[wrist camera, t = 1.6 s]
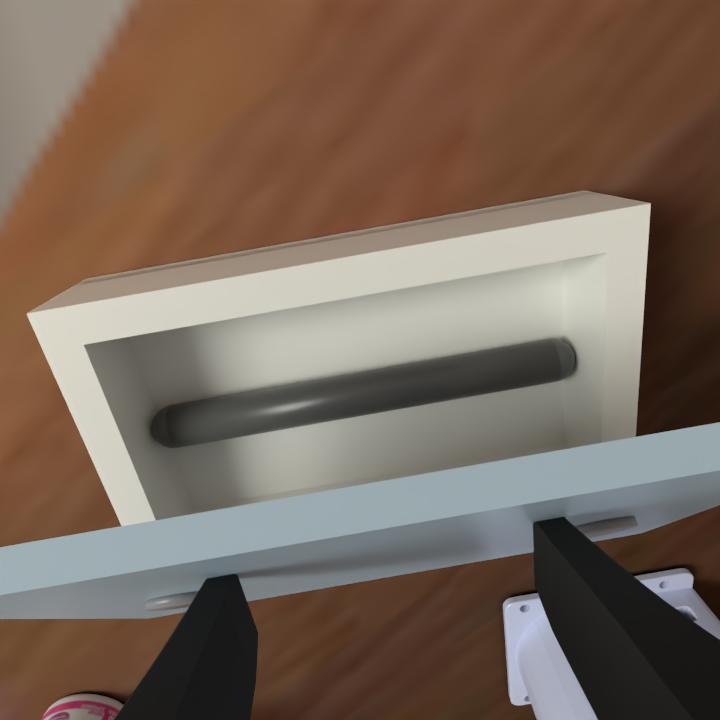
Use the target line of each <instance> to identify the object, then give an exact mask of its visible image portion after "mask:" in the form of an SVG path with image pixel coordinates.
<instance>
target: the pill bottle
mask: <svg viewBox="0 0 720 720" xmlns="http://www.w3.org/2000/svg"><path fill="white" fill-rule="evenodd" d="M123 706H124V705H123V704H122V703H120V702H119V701H117V700H115V699H112V698H109V697H106V696H102V695H96V694H74V695H70V696H67V697H64V698H62V699H60V700H58V701H56V702H55V703H54V704H52V705H51V706H50V707H49V709H48V710H47V711H46V713H45V715H44V716H43V718H42V720H114V718H115V717H116V715H117V714H118V713H119V711H120V710H121V709H122V707H123Z"/></svg>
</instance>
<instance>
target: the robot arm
mask: <svg viewBox="0 0 720 720" xmlns="http://www.w3.org/2000/svg"><path fill="white" fill-rule="evenodd" d="M533 543H534V573H535V587H536V590H537V592H538V593H534V594H528V595H522V596H516V597H511V598H508V599H507V600H506V601H505V602H504V603H503V616H504V631H505V645H506V660H507V674H508V688H509V697H510V700H511V703H512V704H514V705H525V704H531V705H532V707H533V710H534V713H535V716H536V718H537V720H720V621H719V620H718V618H717V617H716V616H715V615H714V614H713V612H712V611H711V610H710V609H709V607H708V606H707V605H706V604H705V603H704V601H703V600H702V599H701V598H700V597H699V595H698V594H697V593H696V592H695V590H694V589H693V588H692V587H693V579H694V578H693V575H692V574H691V573H690V572H689V570H688V569H685V568H679V569H673V570H667V571H661V572H656V573H650V574H644V575H638V576H633V575H631V574H630V573H629V572H628V571H626V570H625V569H624V568H623V567H621V566H620V565H619V564H618V563H617V562H615V561H614V560H613V559H612V558H611V557H609V556H608V555H607V554H606V553H605V552H604V551H602V550H601V549H600V548H599V547H598V546H597V545H595V544H594V543H593V542H592V541H591V540H590V539H589V538H587V537H586V536H585V535H584V534H583V533H582V532H581V531H579V530H578V529H577V528H576V527H575V526H574V525H573V524H572V523H571V522H569V521H568V520H567V519H566V518H565V517H559V518H554V519H548V520H542V521H536V522H534V523H533ZM257 647H258V632H257V629H256V626H255V623H254V620H253V617H252V615H251V612H250V609H249V606H248V603H247V600H246V597H245V595H244V592H243V589H242V586H241V583H240V580H239V577H238V575H237V574H231V575H225V576H219V577H213V578H207V579H206V580H205V581H204V583H203V585H202V586H201V588H200V589H199V591H198V593H197V594H196V596H195V598H194V599H193V601H192V603H191V604H190V606H189V608H188V609H187V611H186V612H185V614H184V616H183V617H182V619H181V621H180V622H179V624H178V625H177V627H176V629H175V630H174V632H173V633H172V635H171V637H170V638H169V640H168V641H167V643H166V644H165V646H164V647H163V649H162V650H161V652H160V653H159V655H158V656H157V658H156V660H155V661H154V663H153V664H152V666H151V667H150V669H149V670H148V672H147V673H146V675H145V676H144V677H143V679H142V680H141V682H140V683H139V685H138V686H137V687H136V689H135V690H134V692H133V693H132V694H131V696H130V697H129V699H128V700H127V701H126V703H125V704H124V706H123V707H122V709H121V710H120V711H119V713H118V714H117V715H116V717H115V718H114V720H250V716H251V709H252V703H253V697H254V690H255V683H256V668H257Z"/></svg>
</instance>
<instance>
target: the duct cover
mask: <svg viewBox="0 0 720 720" xmlns="http://www.w3.org/2000/svg"><path fill="white" fill-rule="evenodd" d="M719 505H720V422H719V423H713V424H707V425H701V426H696V427H690V428H684V429H678V430H673V431H667V432H661V433H655V434H650V435H644V436H638V437H632V438H627V439H621V440H615V441H609V442H604V443H598V444H592V445H586V446H581V447H575V448H569V449H563V450H558V451H552V452H546V453H540V454H535V455H529V456H523V457H517V458H512V459H506V460H500V461H494V462H489V463H483V464H477V465H471V466H466V467H460V468H454V469H448V470H443V471H437V472H431V473H425V474H420V475H414V476H408V477H402V478H397V479H391V480H385V481H379V482H374V483H368V484H362V485H356V486H351V487H345V488H339V489H333V490H328V491H322V492H316V493H310V494H305V495H299V496H293V497H287V498H282V499H276V500H270V501H264V502H259V503H253V504H247V505H241V506H236V507H230V508H224V509H218V510H213V511H207V512H201V513H195V514H190V515H184V516H178V517H172V518H167V519H161V520H155V521H149V522H144V523H138V524H132V525H126V526H121V527H115V528H109V529H103V530H98V531H92V532H86V533H81V534H75V535H69V536H63V537H58V538H52V539H46V540H40V541H35V542H29V543H23V544H17V545H12V546H6V547H0V619H97V618H154V617H160V616H166V615H172V614H177V613H183V612H186V611H187V609H188V608H189V606H190V604H191V603H192V601H193V599H194V598H195V596H196V594H197V593H198V591H199V589H200V588H201V586H202V585H203V583H204V581H205V580H206V579H207V578H213V577H219V576H225V575H231V574H237V575H238V577H239V580H240V583H241V586H242V589H243V592H244V595H245V597H246V600H247V601H253V600H258V599H264V598H270V597H276V596H281V595H287V594H293V593H299V592H305V591H310V590H316V589H322V588H328V587H334V586H339V585H345V584H351V583H357V582H362V581H368V580H374V579H380V578H386V577H391V576H397V575H403V574H409V573H415V572H420V571H426V570H432V569H438V568H443V567H449V566H455V565H461V564H467V563H472V562H478V561H484V560H490V559H496V558H501V557H507V556H513V555H519V554H524V553H530V552H534V543H533V523H534V522H536V521H542V520H548V519H554V518H559V517H565V518H566V519H567V520H568V521H569V522H571V523H572V524H573V525H574V526H575V527H576V528H577V529H578V530H579V531H581V532H582V533H583V534H584V535H585V536H586V537H587V538H589V539H590V540H591V541H592V542H594V541H600V540H605V539H611V538H617V537H623V536H629V535H634V534H640V533H644V532H646V531H649V530H652V529H655V528H657V527H660V526H663V525H666V524H669V523H671V522H674V521H677V520H680V519H682V518H685V517H688V516H691V515H694V514H696V513H699V512H702V511H705V510H707V509H710V508H713V507H716V506H719Z"/></svg>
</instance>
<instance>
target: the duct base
mask: <svg viewBox="0 0 720 720" xmlns="http://www.w3.org/2000/svg"><path fill="white" fill-rule="evenodd" d="M650 209H651V203H647V202H642V201H637V200H631V199H626V198H621V197H616V196H611V195H606V194H601V193H595V192H590V191H585V190H584V191H579V192H573V193H567V194H562V195H556V196H551V197H545V198H539V199H534V200H528V201H522V202H517V203H511V204H505V205H500V206H494V207H488V208H483V209H477V210H471V211H466V212H460V213H454V214H449V215H443V216H437V217H432V218H426V219H421V220H415V221H409V222H404V223H398V224H392V225H387V226H381V227H375V228H370V229H364V230H358V231H353V232H347V233H341V234H336V235H330V236H324V237H319V238H313V239H307V240H302V241H296V242H291V243H285V244H279V245H274V246H268V247H262V248H257V249H251V250H245V251H240V252H234V253H228V254H223V255H217V256H211V257H206V258H200V259H194V260H189V261H183V262H177V263H172V264H166V265H161V266H155V267H149V268H144V269H138V270H132V271H127V272H121V273H115V274H110V275H104V276H98V277H93V278H87V279H85V280H83V281H81V282H80V283H78V284H76V285H75V286H73V287H71V288H69V289H68V290H66V291H64V292H63V293H61V294H59V295H57V296H56V297H54V298H52V299H51V300H49V301H47V302H45V303H44V304H42V305H40V306H39V307H37V308H35V309H33V310H32V311H30V312H28V313H27V316H28V318H29V321H30V323H31V325H32V327H33V329H34V332H35V334H36V336H37V338H38V341H39V343H40V345H41V347H42V349H43V352H44V354H45V356H46V358H47V361H48V363H49V365H50V367H51V370H52V372H53V374H54V376H55V378H56V381H57V383H58V385H59V387H60V390H61V392H62V394H63V396H64V399H65V401H66V403H67V405H68V407H69V410H70V412H71V414H72V416H73V419H74V421H75V423H76V425H77V427H78V430H79V432H80V434H81V436H82V439H83V441H84V443H85V445H86V448H87V450H88V452H89V454H90V456H91V459H92V461H93V463H94V465H95V468H96V470H97V472H98V474H99V477H100V479H101V481H102V483H103V485H104V488H105V490H106V492H107V494H108V497H109V499H110V501H111V503H112V505H113V508H114V510H115V512H116V514H117V517H118V519H119V521H120V523H121V526H126V525H132V524H138V523H144V522H149V521H155V520H161V519H167V518H172V517H178V516H184V515H190V514H195V513H201V512H207V511H213V510H218V509H224V508H230V507H236V506H241V505H247V504H253V503H259V502H264V501H270V500H276V499H282V498H287V497H293V496H299V495H305V494H310V493H316V492H322V491H328V490H333V489H339V488H345V487H351V486H356V485H362V484H368V483H374V482H379V481H385V480H391V479H397V478H402V477H408V476H414V475H420V474H425V473H431V472H437V471H443V470H448V469H454V468H460V467H466V466H471V465H477V464H483V463H489V462H494V461H500V460H506V459H512V458H517V457H523V456H529V455H535V454H540V453H546V452H552V451H558V450H563V449H569V448H575V447H581V446H586V445H592V444H598V443H604V442H609V441H615V440H621V439H627V438H632V437H636V424H637V409H638V394H639V378H640V363H641V347H642V332H643V316H644V301H645V286H646V270H647V255H648V239H649V224H650Z"/></svg>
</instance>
